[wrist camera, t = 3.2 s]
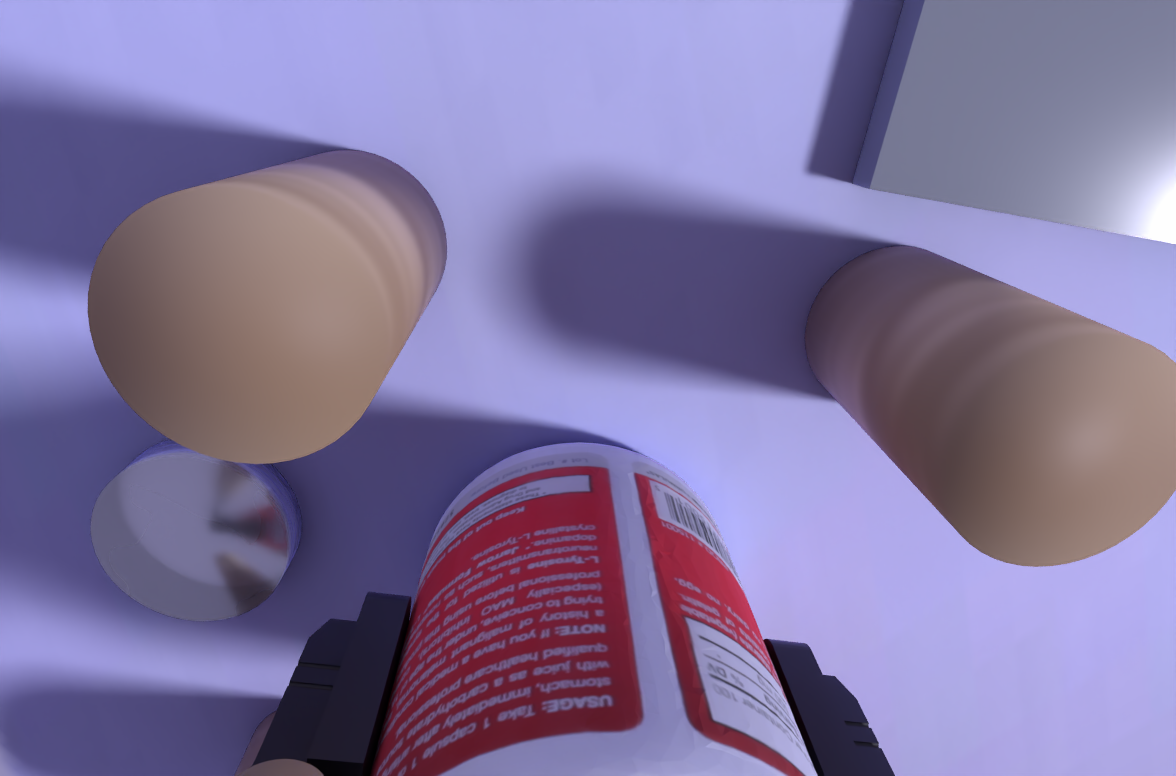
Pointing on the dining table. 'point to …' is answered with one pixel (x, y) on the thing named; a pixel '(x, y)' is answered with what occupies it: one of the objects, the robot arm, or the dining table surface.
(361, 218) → the cylinder
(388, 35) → the dining table surface
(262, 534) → the shiny metal disc
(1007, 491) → the cylinder
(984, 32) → the slate coaster
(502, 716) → the pill bottle
